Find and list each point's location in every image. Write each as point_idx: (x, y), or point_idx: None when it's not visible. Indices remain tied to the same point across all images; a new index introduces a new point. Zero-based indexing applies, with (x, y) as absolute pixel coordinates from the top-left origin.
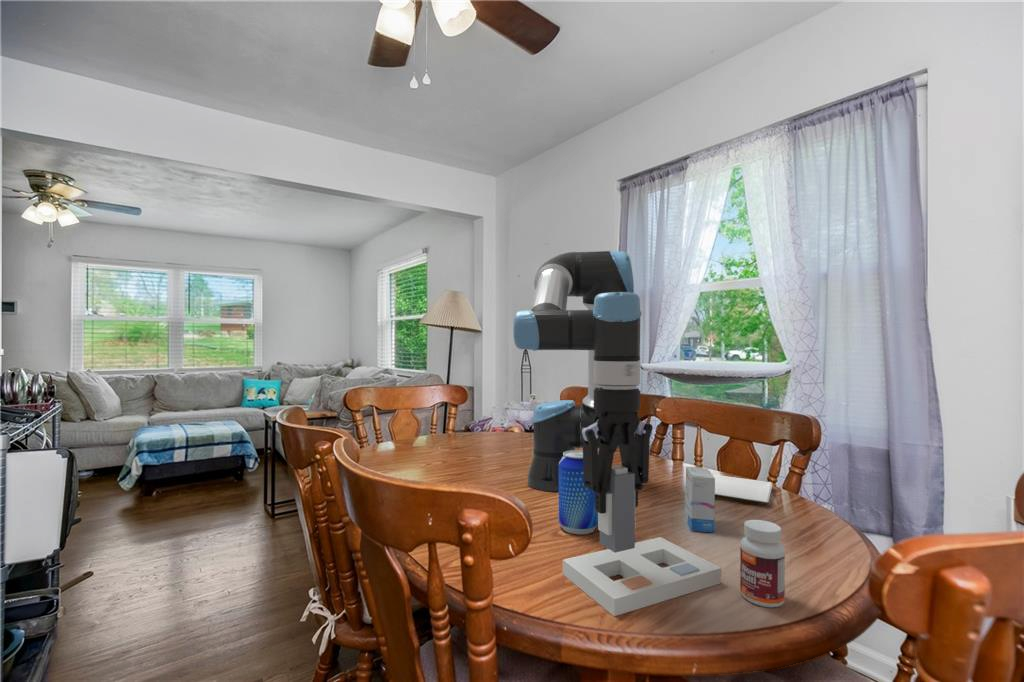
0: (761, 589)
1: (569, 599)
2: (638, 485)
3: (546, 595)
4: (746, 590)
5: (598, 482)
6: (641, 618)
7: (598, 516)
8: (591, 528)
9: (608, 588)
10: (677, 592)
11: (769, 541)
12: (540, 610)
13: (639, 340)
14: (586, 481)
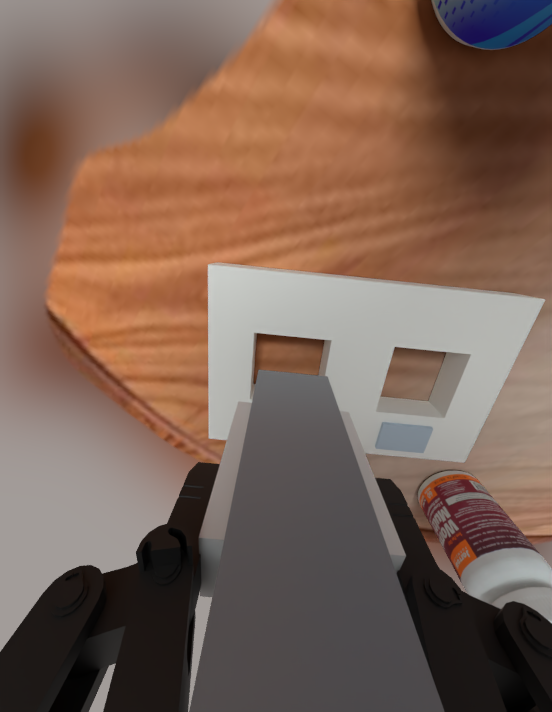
0: (430, 524)
1: (177, 349)
2: None
3: (142, 316)
4: (427, 498)
5: (90, 701)
6: None
7: (230, 431)
8: (494, 49)
9: (222, 412)
10: None
11: None
12: (111, 350)
13: None
14: (37, 638)
